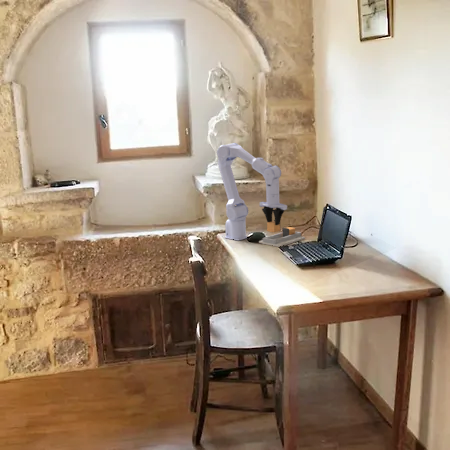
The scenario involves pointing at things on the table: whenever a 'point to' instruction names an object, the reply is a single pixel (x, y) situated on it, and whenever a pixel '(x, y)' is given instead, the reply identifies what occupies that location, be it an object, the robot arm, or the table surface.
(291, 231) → the grey frame base
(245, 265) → the table surface
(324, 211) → the dark thin upright piece
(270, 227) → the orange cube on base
